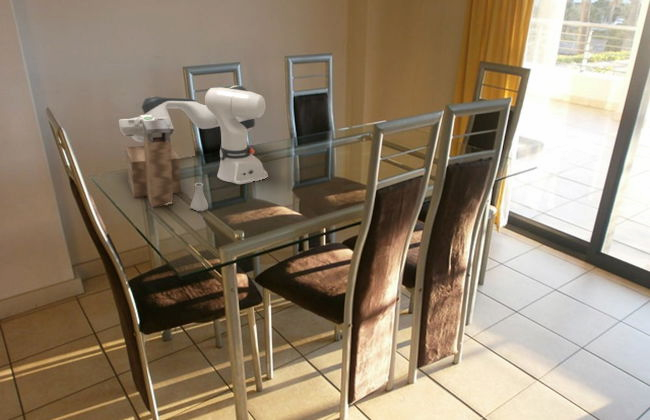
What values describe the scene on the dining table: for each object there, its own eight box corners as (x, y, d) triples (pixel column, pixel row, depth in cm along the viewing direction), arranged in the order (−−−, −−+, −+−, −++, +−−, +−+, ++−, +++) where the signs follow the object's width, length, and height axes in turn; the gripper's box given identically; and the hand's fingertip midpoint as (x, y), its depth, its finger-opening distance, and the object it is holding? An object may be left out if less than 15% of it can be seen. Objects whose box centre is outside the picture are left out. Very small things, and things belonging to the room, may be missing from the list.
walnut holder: (172, 177, 223) (169, 107, 209) (185, 203, 203) (184, 127, 189) (128, 181, 215) (122, 108, 201) (137, 208, 195) (132, 130, 181)
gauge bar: (151, 121, 209) (150, 113, 207) (162, 137, 191) (161, 128, 190) (140, 122, 207) (140, 114, 206) (150, 137, 189) (150, 128, 188)
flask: (204, 213, 197) (203, 189, 193) (186, 210, 198) (185, 186, 194) (211, 205, 203) (211, 182, 199) (194, 202, 204) (194, 179, 200)
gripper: (169, 132, 221) (175, 126, 209) (118, 135, 212) (121, 129, 200) (167, 118, 221) (173, 111, 209) (116, 120, 212) (119, 113, 200)
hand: (147, 119), depth 204 cm, fingers closed on gauge bar, 4 cm apart
